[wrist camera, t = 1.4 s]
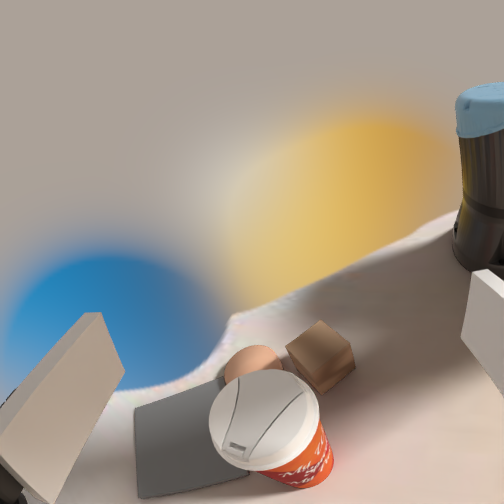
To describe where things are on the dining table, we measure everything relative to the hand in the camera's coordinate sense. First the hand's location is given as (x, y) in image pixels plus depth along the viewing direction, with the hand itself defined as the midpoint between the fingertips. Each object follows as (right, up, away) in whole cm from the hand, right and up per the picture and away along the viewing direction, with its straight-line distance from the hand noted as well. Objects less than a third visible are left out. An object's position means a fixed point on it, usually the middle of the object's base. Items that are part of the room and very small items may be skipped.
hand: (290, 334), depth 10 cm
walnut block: (+7, -11, +24) cm, 28 cm away
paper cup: (+4, -18, +16) cm, 25 cm away
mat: (-9, -20, +22) cm, 32 cm away
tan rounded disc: (-1, -13, +27) cm, 30 cm away
